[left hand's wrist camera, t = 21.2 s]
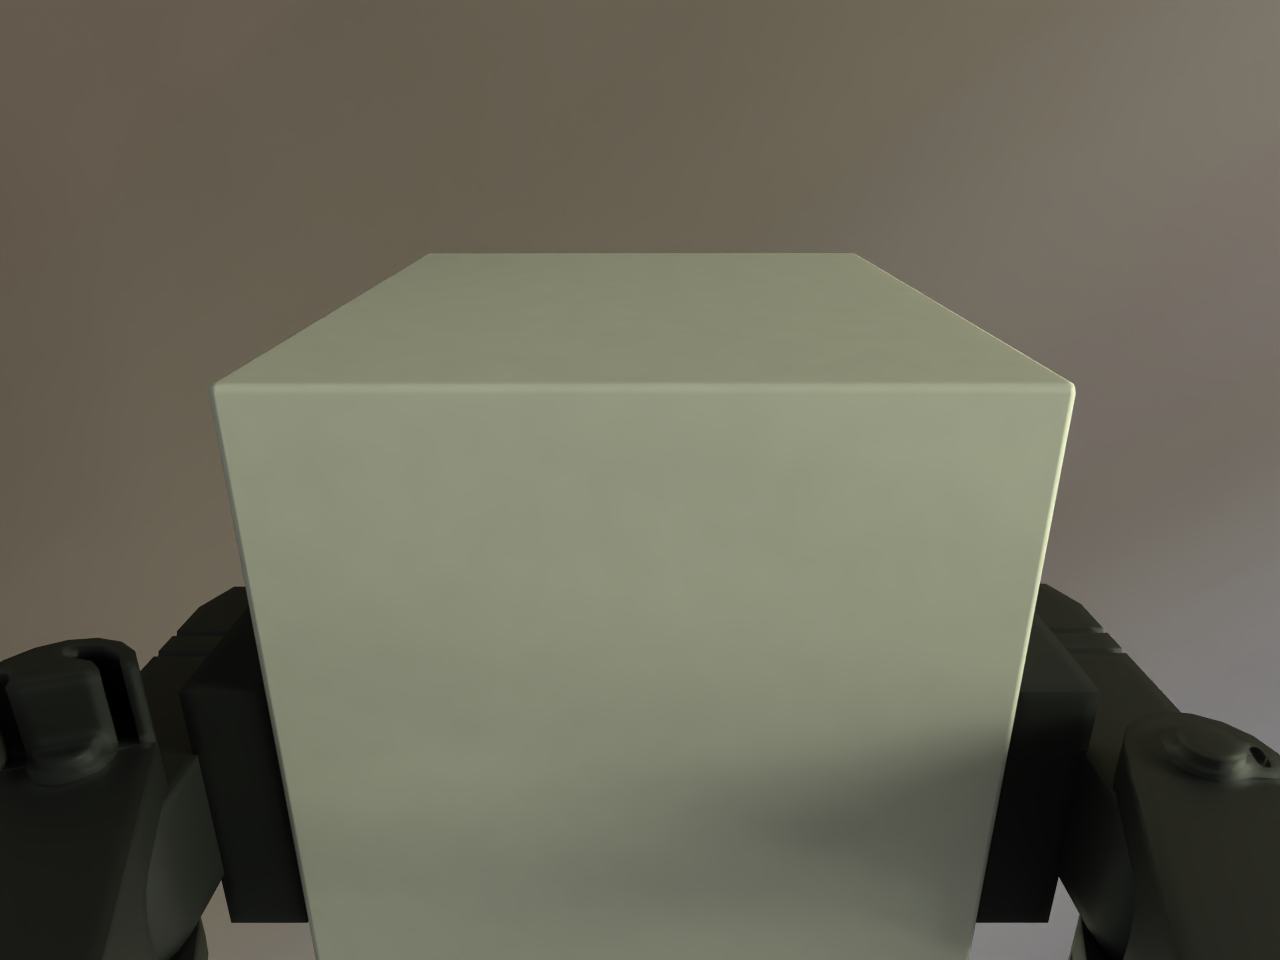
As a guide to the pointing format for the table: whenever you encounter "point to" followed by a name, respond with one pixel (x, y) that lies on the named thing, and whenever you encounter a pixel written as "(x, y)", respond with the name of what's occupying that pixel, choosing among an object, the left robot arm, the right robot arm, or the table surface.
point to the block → (642, 604)
